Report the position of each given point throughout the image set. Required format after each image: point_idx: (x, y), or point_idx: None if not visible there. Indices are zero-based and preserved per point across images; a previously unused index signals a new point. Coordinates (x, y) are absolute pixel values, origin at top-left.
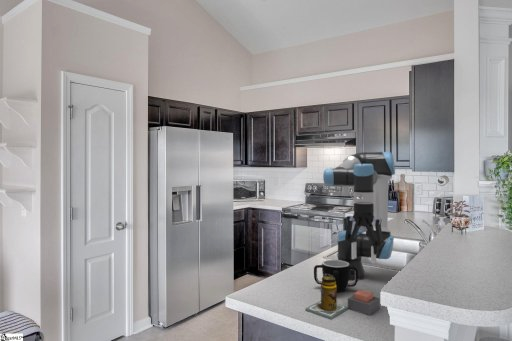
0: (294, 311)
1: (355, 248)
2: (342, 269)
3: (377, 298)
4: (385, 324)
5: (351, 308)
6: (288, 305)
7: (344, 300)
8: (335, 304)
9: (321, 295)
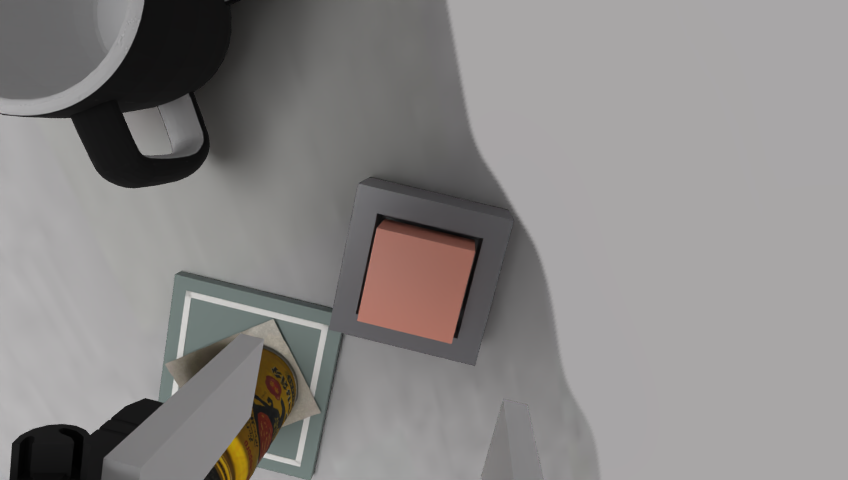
0: None
1: (198, 435)
2: (133, 71)
3: (501, 235)
4: (570, 407)
5: None
6: (55, 414)
7: (286, 195)
8: (287, 410)
9: None
